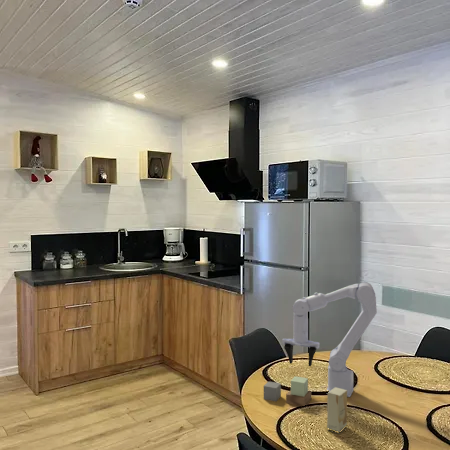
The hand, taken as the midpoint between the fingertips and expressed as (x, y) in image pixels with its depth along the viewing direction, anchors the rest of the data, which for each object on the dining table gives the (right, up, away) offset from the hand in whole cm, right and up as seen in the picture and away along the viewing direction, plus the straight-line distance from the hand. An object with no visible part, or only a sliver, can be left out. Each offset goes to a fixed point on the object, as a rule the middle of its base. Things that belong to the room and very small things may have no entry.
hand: (300, 364), depth 181 cm
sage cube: (-3, -7, -13) cm, 15 cm away
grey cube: (-12, -10, -9) cm, 18 cm away
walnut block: (-3, -10, -12) cm, 16 cm away
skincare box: (+6, -11, -33) cm, 36 cm away
